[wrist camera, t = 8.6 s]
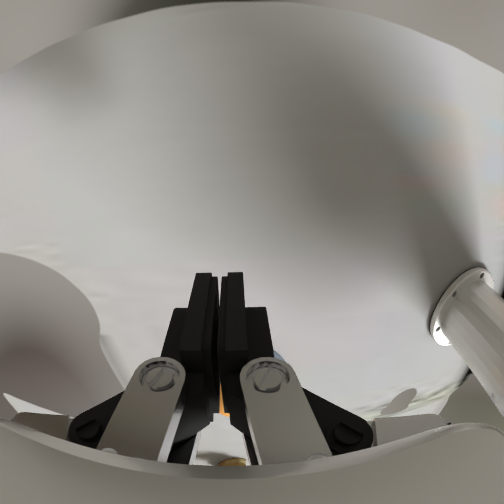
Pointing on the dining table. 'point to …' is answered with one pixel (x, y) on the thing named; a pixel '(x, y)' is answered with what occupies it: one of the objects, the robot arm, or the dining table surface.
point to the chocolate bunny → (233, 462)
